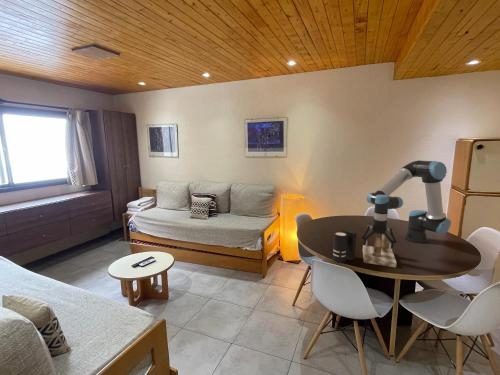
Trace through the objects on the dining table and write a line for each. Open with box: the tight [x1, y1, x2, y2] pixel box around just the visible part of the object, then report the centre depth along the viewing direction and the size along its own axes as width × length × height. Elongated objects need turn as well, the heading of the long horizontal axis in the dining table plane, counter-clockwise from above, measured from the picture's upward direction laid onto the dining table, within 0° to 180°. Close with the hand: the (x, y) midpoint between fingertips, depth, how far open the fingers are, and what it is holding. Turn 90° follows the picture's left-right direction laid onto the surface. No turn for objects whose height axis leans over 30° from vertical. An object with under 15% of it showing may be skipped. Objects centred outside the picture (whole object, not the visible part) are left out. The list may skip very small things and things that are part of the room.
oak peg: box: [373, 237, 382, 257], centre depth 163 cm, size 4×4×14 cm
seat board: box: [362, 234, 397, 268], centre depth 165 cm, size 18×22×14 cm
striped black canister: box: [332, 228, 357, 264], centre depth 163 cm, size 10×14×18 cm
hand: (377, 251), depth 163 cm, fingers open, 13 cm apart
